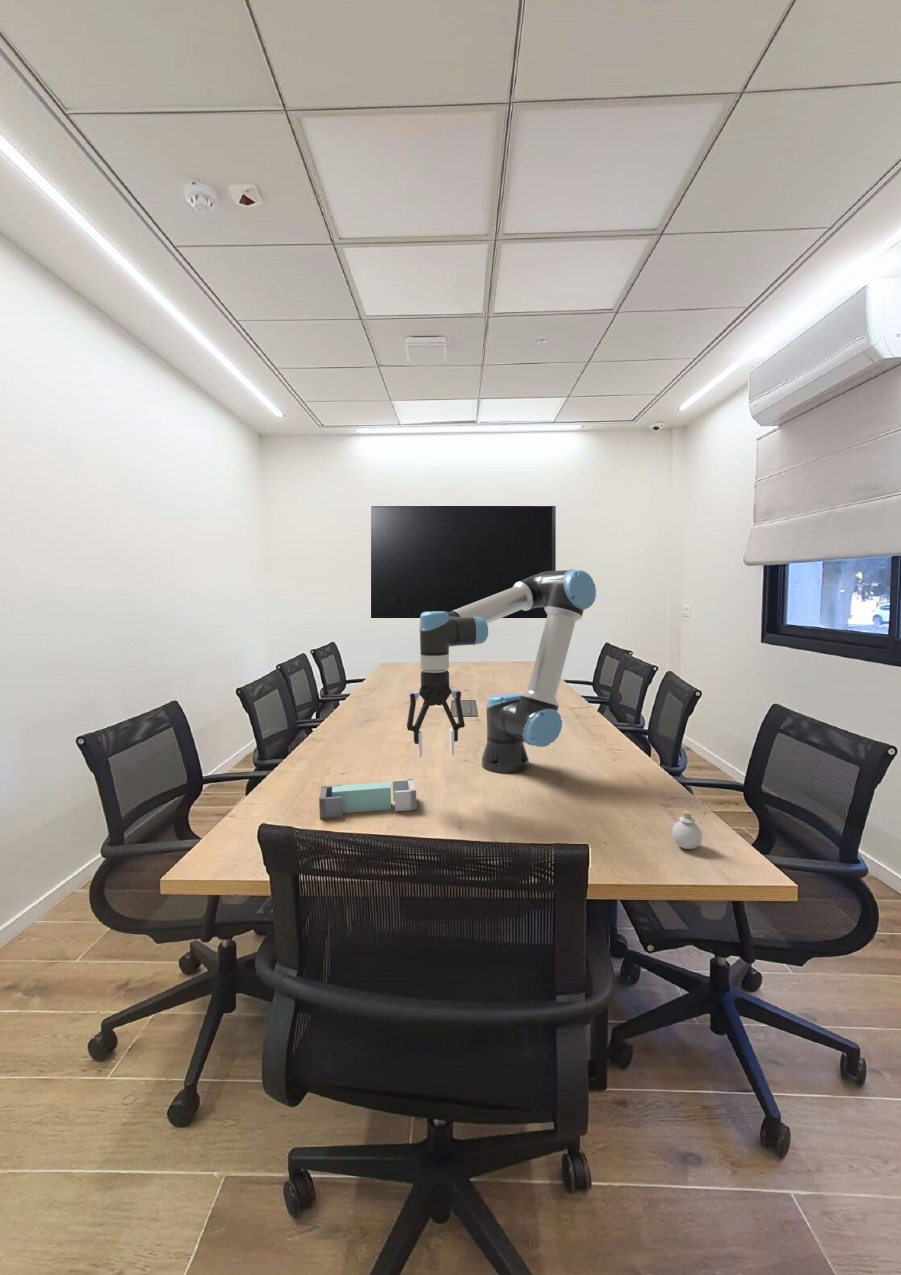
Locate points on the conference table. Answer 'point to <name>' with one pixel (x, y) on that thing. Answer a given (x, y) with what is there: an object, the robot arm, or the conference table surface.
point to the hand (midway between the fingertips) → (436, 754)
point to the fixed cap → (329, 803)
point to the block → (364, 797)
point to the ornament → (687, 831)
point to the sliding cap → (404, 795)
